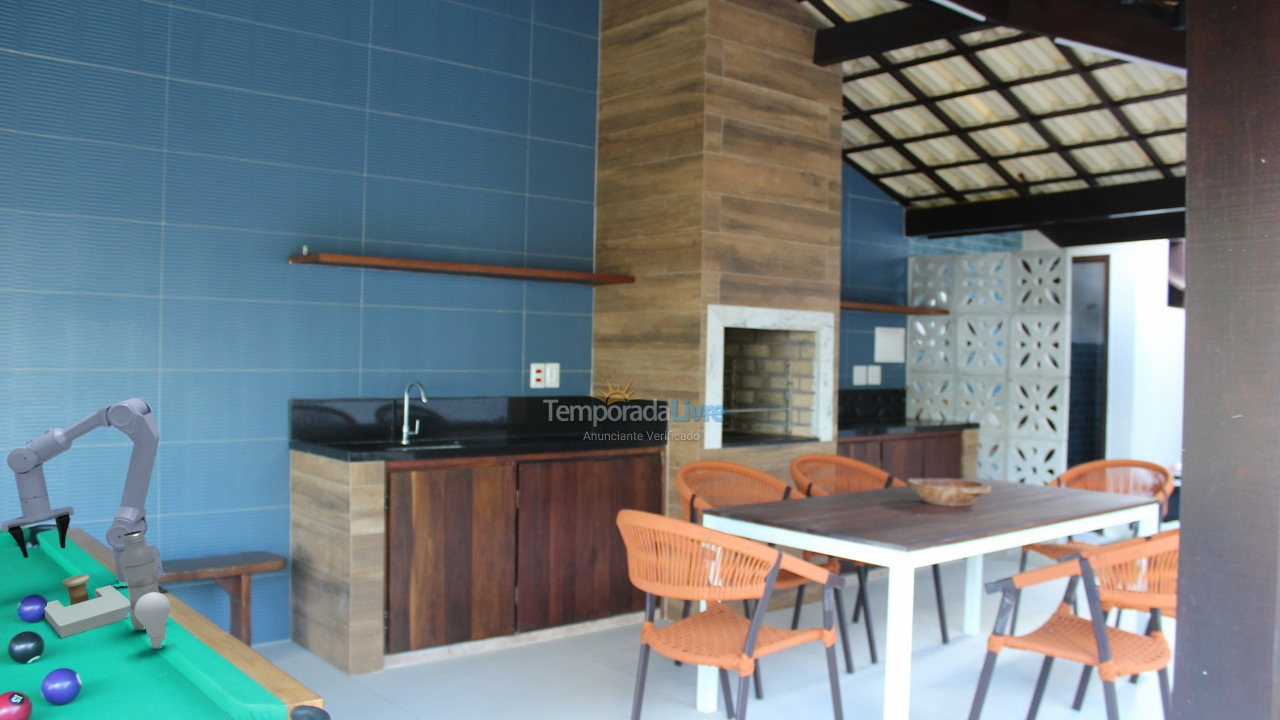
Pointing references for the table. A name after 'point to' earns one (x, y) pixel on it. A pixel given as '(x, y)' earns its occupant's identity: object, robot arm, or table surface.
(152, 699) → the table surface
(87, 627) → the notched board
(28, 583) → the table surface
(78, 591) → the bobbin
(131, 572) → the plastic bottle
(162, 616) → the lightbulb
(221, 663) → the table surface
